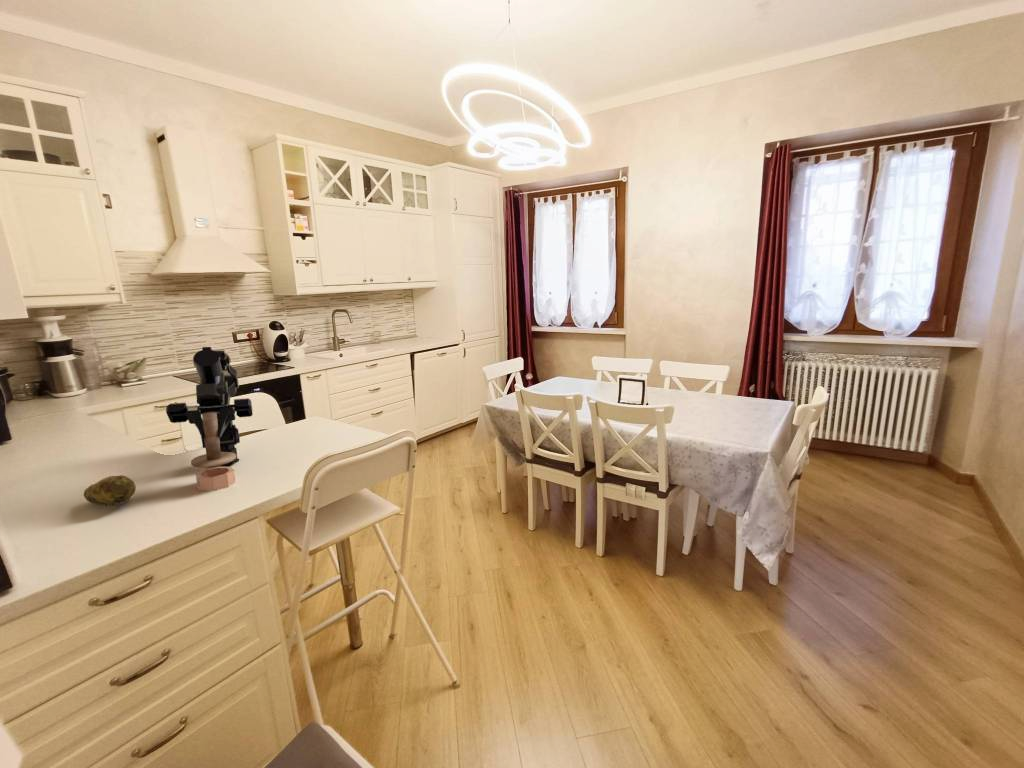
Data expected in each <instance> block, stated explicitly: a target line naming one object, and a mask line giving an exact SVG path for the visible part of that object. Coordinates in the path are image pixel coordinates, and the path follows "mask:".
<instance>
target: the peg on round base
mask: <svg viewBox="0 0 1024 768" xmlns="http://www.w3.org/2000/svg"><path fill="white" fill-rule="evenodd" d="M201 417H202V420H203V429H204V438H205V448H204V449H205V454H200V455H197V456H196V457H194V458H191V460H190V464H191V466H192V467H194V468H214V466H220V465H224V464H227V463H230V462H232V461H234V460H235V459H236V454H235V453H232V452H221V450H220V440H219V438H218V420H217V413H216V412H207V413H203V414H201Z"/></svg>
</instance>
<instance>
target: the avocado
mask: <svg viewBox="0 0 1024 768" xmlns="http://www.w3.org/2000/svg"><path fill="white" fill-rule="evenodd" d="M136 489H137V487H136V484H135V482H134V481H133V480H132V479H131V478H130V477H128V476H126V475H122V474H121V475H113V476H112V475H111V476H107V477H105V478H102V479H100V480H99V481H97V482H95V483H94V484H91V485H90V486H88V487H86V489H85V490H84V492H83V495H82V496H83V497H84V499H85V500H86V501H87V502H89V503H92V504H99V505H103V506H116V505H117V506H118V505H120V504H123V503H126V502H127V501H129V500H130V499H131V498H132V496H134V494H135V493H136Z"/></svg>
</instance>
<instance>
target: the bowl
mask: <svg viewBox="0 0 1024 768" xmlns="http://www.w3.org/2000/svg"><path fill="white" fill-rule="evenodd" d="M195 478H196V479H195V480H196V486H198V487H199V488H198V487H197V488H198V489H199V491H200V490H215V491H217V490H216V489H219V490H222V489H221V488H223V489H226V488H225V487H227V488H229V487H231V486H232V485H234V484H235V483H236V475H235V469H234V468H233V467H231V466H229V467H208V468H206V469H202V470H201V471H199V472H197V473H195Z"/></svg>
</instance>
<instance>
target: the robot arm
mask: <svg viewBox="0 0 1024 768" xmlns="http://www.w3.org/2000/svg"><path fill="white" fill-rule="evenodd" d="M192 358H193V359H192V363H193V366H194V367H195V369H196V373H197V376H198V377H199V384H196V385H195V391H196V392H195V397H196V404H197V405H187V402H173V403H172V402H171V403H169V404H168V405H166V408H165V412H166V413H165V414H166V415H167V417H168V420H169V422H170V423H173V424H177V423H178V424H180V423H186V422H187V421H188V423H189V424H190V425H192V424H193V425H194V426H195V427H196V428H197V429H198V432H199V434H200V438H201V443H202V449H206V448H205V438H204V429H203V420H202V414H203V413H207V412H216V413H217V420H218V438H219V440H220V450H221V452H232V453H235V454H236V459H235V460H234V461H232V462H230V463H227V464H224V465H220V466H214V467H231V466H233V465H234V464H235V463H237V462H239V461H240V458H238V452H237V451H238V450H237V447H236V445H238V444H240V443H241V440H240V432H239V428H237V426H236V424H234V422H233V421H235V420H236V416H237V417H239V418H249V417H252V416H253V414H254V413H253V405H252V399H250V398H234V399H233V404H231V398H232V397H234V396H236V394H237V389H239V387H240V386H239V377H238V371H237V369H235V368H234V367H233V366H232V365H231V362H232V360H231V357H230V356H229V354H228V353H227V352H226V351H225V350H223V349H221V350H219V349H217V350H214V349H212V347H211V346H202V350H198V351H197V352H196V353H195V354H194V355H193V357H192ZM224 371H225V372H226V371H227V373H228V374H225V372H224ZM235 414H236V415H235ZM214 467H213V468H214Z"/></svg>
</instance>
